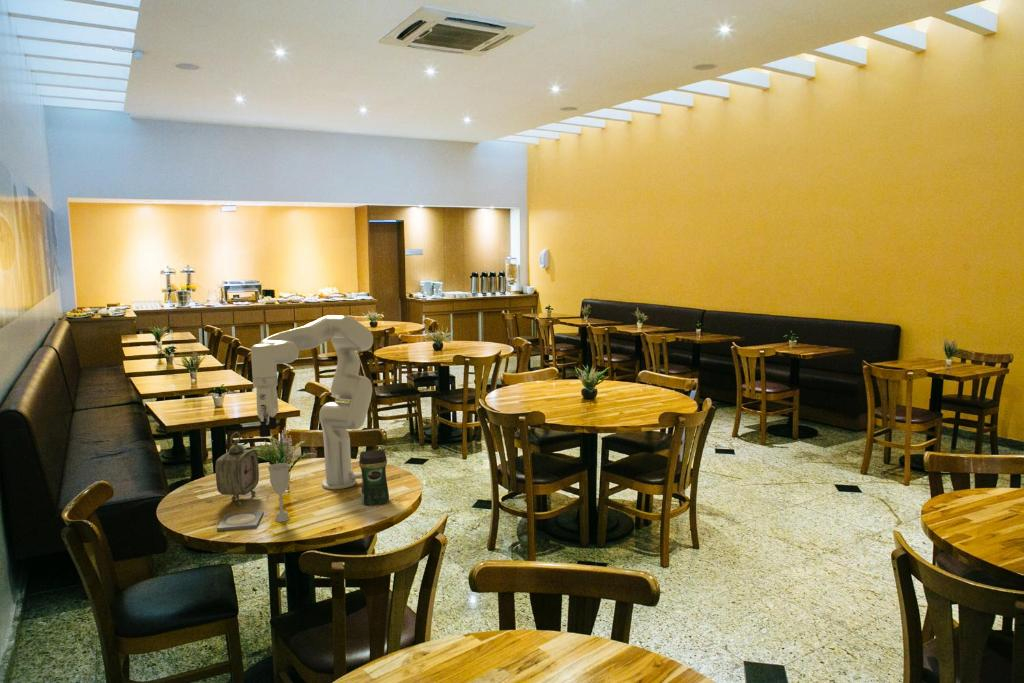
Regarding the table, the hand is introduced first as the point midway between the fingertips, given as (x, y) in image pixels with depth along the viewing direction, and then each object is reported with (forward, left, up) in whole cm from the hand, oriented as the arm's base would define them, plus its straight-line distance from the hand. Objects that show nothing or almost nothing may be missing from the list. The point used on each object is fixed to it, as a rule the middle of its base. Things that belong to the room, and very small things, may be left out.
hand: (268, 432), depth 224 cm
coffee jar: (-33, -6, -29) cm, 44 cm away
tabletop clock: (+15, -18, -29) cm, 37 cm away
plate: (+10, +3, -29) cm, 31 cm away
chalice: (-3, +3, -29) cm, 29 cm away
